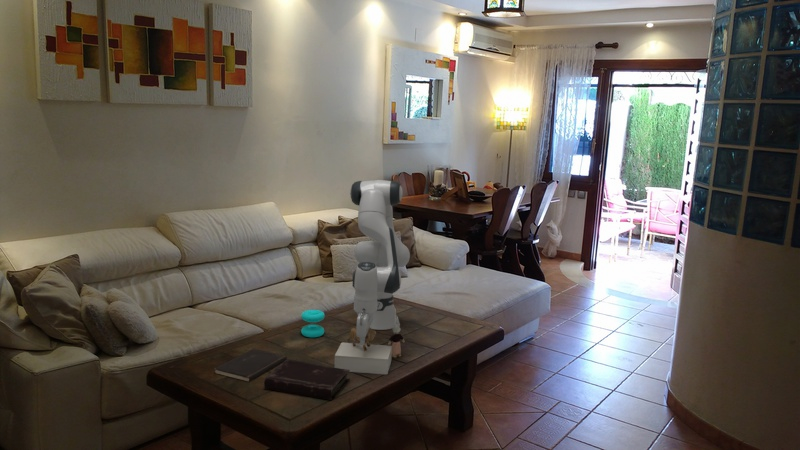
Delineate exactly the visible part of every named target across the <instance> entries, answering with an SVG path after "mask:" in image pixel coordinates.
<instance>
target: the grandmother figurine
mask: <svg viewBox="0 0 800 450" xmlns="http://www.w3.org/2000/svg"><path fill="white" fill-rule="evenodd" d="M391 330H392V333H393V335H391V336H390V338H389V339H388V342H387V346H392V358H397V357H402V354H401V353H402V349H401V343H403V344H404V343H405V342H406V341H405V339H404V336H403V335H402V334H400V332H401V331H402V330H401V326H400V327H399V326H398V325H395V326H394V327H393V328H391ZM391 343H392V345H391Z"/></svg>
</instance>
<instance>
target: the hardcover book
mask: <svg viewBox="0 0 800 450" xmlns="http://www.w3.org/2000/svg"><path fill="white" fill-rule="evenodd" d="M287 359H288V357H287V356H286V355H283V354H280V353H274V352H270V351H265V350H262V349H257V348H252V349H251V350H248V351H246V352H244V353H242V354H240V355H238V356H237V357H236V356H235V358H233V359H231V360H229V361H226V362H224V363H222V364H220V365H219V366H217V367H214V368H213V370H215V371H214V373H215V374H217V375H222V376H226V377H230V378H233V379H236V380H241V381H245V382H248V383H251V382H252V381H253V380H255V379H257V378H259V377H261V376H263V375H265V374H266V373H268V372H270V371H271V370H274V369H276V368H277V367H278V366H279V365H280V364H282V363H283V362H284V361H285V360H287Z"/></svg>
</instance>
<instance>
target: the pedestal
mask: <svg viewBox="0 0 800 450" xmlns="http://www.w3.org/2000/svg"><path fill="white" fill-rule="evenodd" d="M354 343H355V342H354ZM355 344H356V346H353V343H352V342H344V341H343V342H341V343H340V345H339V346H338V349H337V351H336V352H335V354H334V368H340V369H347V370H350V371H349V372H348V373H360V374H361V373H363V374H372V375H375V374H376V375H388V374H389V369H390V367H391V362H392V358H393V357H392V345H387V344H386V345H383V344H382V345H381V344H373V343H372V344H370V343H369V345H371V346H370V347H367V344H366V343H365V346H366V349H367V350H366V351H364V348H363V345H360V343H357V342H356V343H355Z"/></svg>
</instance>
